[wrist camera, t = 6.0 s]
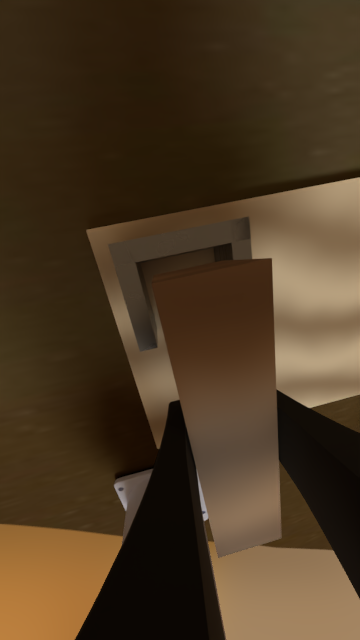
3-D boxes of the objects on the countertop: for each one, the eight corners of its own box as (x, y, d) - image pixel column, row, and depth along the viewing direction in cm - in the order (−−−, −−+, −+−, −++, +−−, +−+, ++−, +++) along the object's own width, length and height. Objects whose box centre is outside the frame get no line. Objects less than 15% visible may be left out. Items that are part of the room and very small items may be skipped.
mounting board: (362, 385, 18) (371, 391, 17) (157, 440, 17) (157, 448, 16) (393, 173, 13) (408, 167, 12) (90, 232, 11) (86, 229, 11)
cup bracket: (235, 311, 13) (256, 324, 10) (143, 332, 13) (139, 351, 10) (226, 228, 12) (249, 216, 9) (120, 249, 11) (107, 244, 8)
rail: (245, 459, 13) (281, 538, 9) (200, 471, 13) (218, 557, 9) (222, 260, 9) (272, 258, 5) (153, 275, 9) (151, 283, 5)
